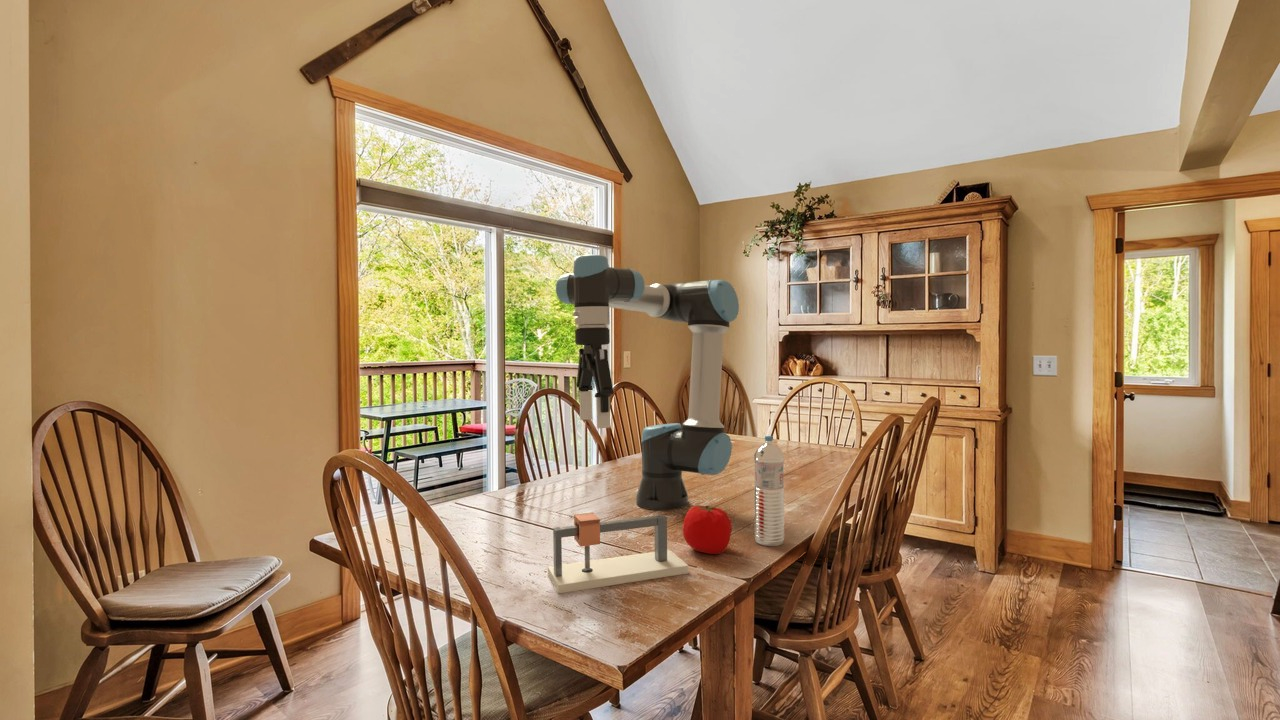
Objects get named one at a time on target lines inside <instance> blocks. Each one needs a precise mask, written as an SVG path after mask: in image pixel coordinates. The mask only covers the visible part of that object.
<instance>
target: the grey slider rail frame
mask: <svg viewBox="0 0 1280 720" xmlns="http://www.w3.org/2000/svg"><path fill="white" fill-rule="evenodd" d="M649 527H654V552H655V559H656V560H657V561H658V562H661V561H667V550H668V517H667V516H665V515H664V514H659V515H658V514H657V515H656V514H655V515H651V516H643V517H634V518H628V519H627V518H625V519H617V520H610V521H602V522H601V521H600V534H601V533H603V534H604V533H608V532H610V533H611V532H616V531H617V532H618V531H626V530H632V529H633V530H634V529H641V528H643V529H644V528H649ZM552 529H553V530H552V537H553V540H552V541H553V542H552V543H553V548H552V549H553V566H554V575H555V576H556V577H560V576H562V565H563V559H562V558H563V553H562V551H563V550H562V547H563V546H562V538H569V537H574V536H578V535H579V525H574V524H573V525H566V526H565V525H564V526H555V527H552Z"/></svg>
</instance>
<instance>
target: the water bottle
mask: <svg viewBox="0 0 1280 720" xmlns="http://www.w3.org/2000/svg"><path fill="white" fill-rule="evenodd" d="M764 441H765V442H764V443H763V444H761V445H760V446H759V447H758V448H757V449H756V451H755V452H754V455H753V459H754V501H753V502H754V541H755V543H757V544H758V545H761V546H763V547H778V546H781V545H783V544H784V540H785V488H784V486H785V485H784V481H785V480H784V479H785V478H784V461H785V454H784V453H783V451H782V450H781V448H780V447H779V446H778V445H777V444H775V443H774V436H772V435H765V437H764Z"/></svg>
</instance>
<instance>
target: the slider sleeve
mask: <svg viewBox="0 0 1280 720" xmlns="http://www.w3.org/2000/svg"><path fill="white" fill-rule="evenodd" d="M600 522H601V519H600V518H599V516H597V515H596V514H595V513H594V512H585V513H577V514H576V513H575V514H574V513H573V523H574V524H573V526H574V525H579V535H578V536H573V538H574V541H575V542H576V543H577V544H578V546H579V547H584V561H585V568H590V561H591V557H590V556H591V555H590V554H591V548H590V547H591V546H595V545H596V546H597V545H601V533H600Z"/></svg>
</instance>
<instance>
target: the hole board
mask: <svg viewBox="0 0 1280 720" xmlns="http://www.w3.org/2000/svg"><path fill="white" fill-rule="evenodd" d="M686 574H689V564H687V563H686V562H684V560H682V559H681V558H680V557H678V555H676V554H675V553H674V552H673V551H671V550H670V549H667V561H661V562H658V561H657V560H656V559H655V551H649V552H644V553H643V552H642V553H635V554H629V555H622V556H621V555H620V556H613V557H608V558H607V557H606V558H600V559H594V560H593V559H592V560H590V568H585V560H584V561H579V562H578V561H577V562H572V563H562V576H560V577H556V576H555V575H554V565H549V566H547V575H548V577H549V579H550V581H551V583H552V584H553V587H554V588H555V590H556V592H557V593H558V594H562V593H569V592H577V591H582V590H590V589H595V588H602V587H608V586H609V587H610V586H614V585H621V584H627V583H634V582H642V581H647V580H653V579H660V578H665V577H672V576H678V575H679V576H680V575H686Z"/></svg>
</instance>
